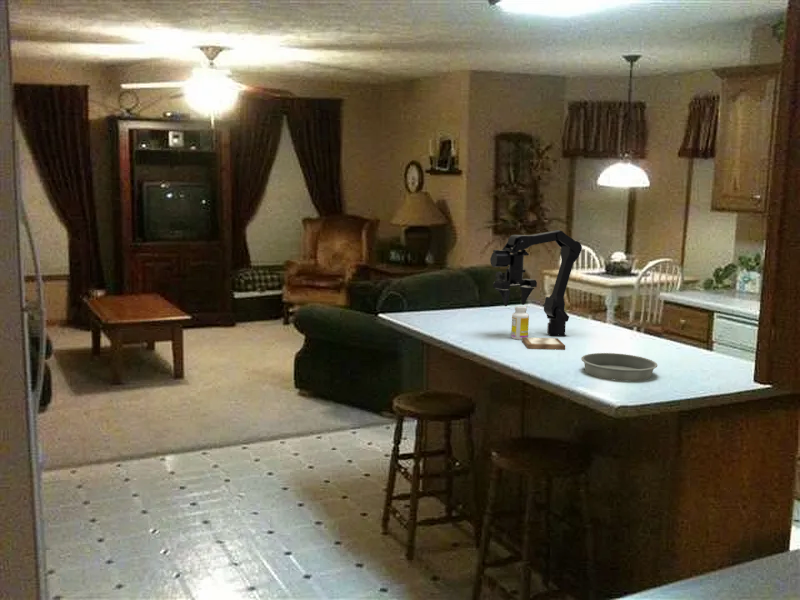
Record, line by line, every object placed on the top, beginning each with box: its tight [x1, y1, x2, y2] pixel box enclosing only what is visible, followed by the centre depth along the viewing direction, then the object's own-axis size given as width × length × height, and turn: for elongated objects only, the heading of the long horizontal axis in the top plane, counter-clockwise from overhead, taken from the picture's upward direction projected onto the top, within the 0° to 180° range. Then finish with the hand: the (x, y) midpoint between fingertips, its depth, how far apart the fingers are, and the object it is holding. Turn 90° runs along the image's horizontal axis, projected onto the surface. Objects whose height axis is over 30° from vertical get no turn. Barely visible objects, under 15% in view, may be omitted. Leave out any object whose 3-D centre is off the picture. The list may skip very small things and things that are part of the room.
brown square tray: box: [521, 337, 566, 351], centre depth 318 cm, size 14×14×2 cm
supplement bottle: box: [510, 305, 530, 341], centre depth 330 cm, size 7×7×13 cm
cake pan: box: [580, 352, 658, 382], centre depth 276 cm, size 25×25×4 cm
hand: (514, 305), depth 332 cm, fingers open, 9 cm apart
